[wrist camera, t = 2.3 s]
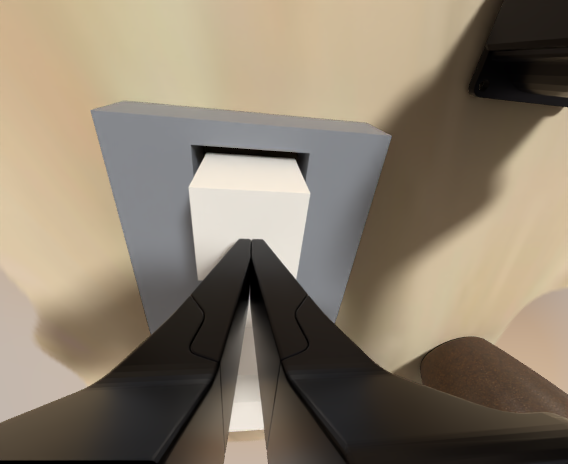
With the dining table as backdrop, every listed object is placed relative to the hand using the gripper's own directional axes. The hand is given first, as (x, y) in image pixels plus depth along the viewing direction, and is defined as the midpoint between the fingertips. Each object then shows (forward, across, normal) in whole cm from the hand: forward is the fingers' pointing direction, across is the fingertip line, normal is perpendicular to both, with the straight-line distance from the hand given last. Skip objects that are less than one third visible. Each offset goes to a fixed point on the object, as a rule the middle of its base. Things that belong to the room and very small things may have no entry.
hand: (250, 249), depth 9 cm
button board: (+7, 0, +7) cm, 10 cm away
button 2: (+5, 0, 0) cm, 5 cm away
